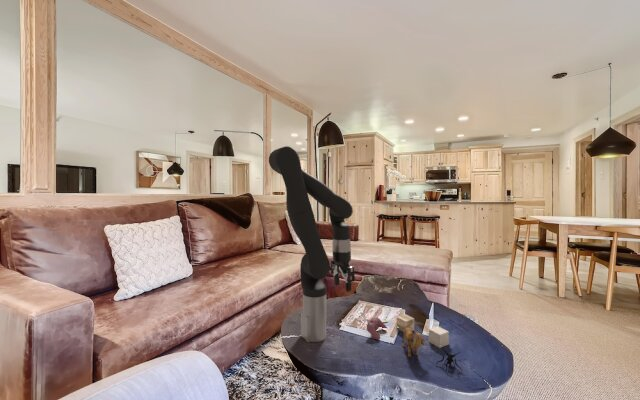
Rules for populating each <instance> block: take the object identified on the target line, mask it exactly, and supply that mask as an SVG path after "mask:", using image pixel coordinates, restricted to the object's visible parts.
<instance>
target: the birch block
mask: <svg viewBox="0 0 640 400" xmlns="http://www.w3.org/2000/svg"><path fill="white" fill-rule="evenodd" d="M397 326H398V327H399V329H398V330H399V331H400V332H402V333H404V330H405V329H406V328H410V329H412V332H414V331H415V318H414V317H413V316H410V315H408V314H401V315H397V316H396V327H397Z"/></svg>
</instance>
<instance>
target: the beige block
mask: <svg viewBox="0 0 640 400" xmlns="http://www.w3.org/2000/svg"><path fill="white" fill-rule="evenodd" d="M449 339H450V332H449V331H448V330H446V329H444V328H442V327H441V326H438V325H437V326H433V327H431V328H429V329H428V342H429V343H430V344H432V345H434V346H436V347H437V348H439V349H442V348H444V347H446V346H448V345H449V343H450V342H449V341H450V340H449ZM441 347H442V348H441Z"/></svg>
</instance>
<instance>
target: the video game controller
mask: <svg viewBox="0 0 640 400" xmlns="http://www.w3.org/2000/svg"><path fill="white" fill-rule="evenodd" d="M379 327H382V328H387V325H386V324H385V323H384V322H383V321H382V320H381V319H380V318H379V317H378V316H377V317H371V318H370V319H369V320H368V322H367V324H366V331H367V332H368V333H369V334H370V336H371V337H373V338H374V339H375V340H378V341H379V340H380V339H381V336H380V334H379V333H378V332H377V331H376V330H377V329H378V328H379ZM387 329H388V328H387Z"/></svg>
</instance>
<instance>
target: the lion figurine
mask: <svg viewBox="0 0 640 400" xmlns="http://www.w3.org/2000/svg"><path fill="white" fill-rule="evenodd" d="M402 340H403V341H402V342H403V343H402V348H405V347H406V344H407V356H408V357H412V350H413V354H414V356H419V353H418V352H417V351H418V350H419V349H420V348H421V347H422V346H425V344H426V343H427V340H426V339H425V338H423V336H422V334H421V333H420V332H416V331H415V332H413V331H412V329H410V328H406V329H405V330H404V332H403V337H402Z"/></svg>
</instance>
